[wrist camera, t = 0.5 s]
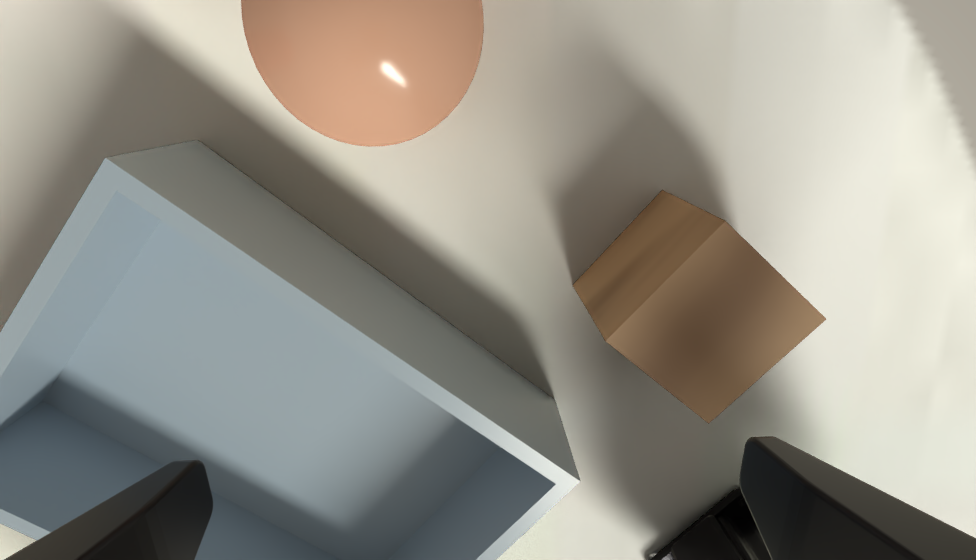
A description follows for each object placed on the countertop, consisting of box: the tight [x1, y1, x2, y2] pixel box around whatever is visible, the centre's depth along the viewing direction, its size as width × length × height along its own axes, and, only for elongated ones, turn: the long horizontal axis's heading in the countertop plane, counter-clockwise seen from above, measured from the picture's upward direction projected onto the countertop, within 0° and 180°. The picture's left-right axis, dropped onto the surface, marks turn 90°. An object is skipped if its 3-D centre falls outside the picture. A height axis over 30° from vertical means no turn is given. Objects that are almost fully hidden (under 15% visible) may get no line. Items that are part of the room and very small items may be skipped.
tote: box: [0, 140, 580, 560], centre depth 19 cm, size 17×13×5 cm
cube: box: [573, 190, 826, 423], centre depth 18 cm, size 5×5×5 cm
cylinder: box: [241, 0, 484, 146], centre depth 14 cm, size 5×5×7 cm
